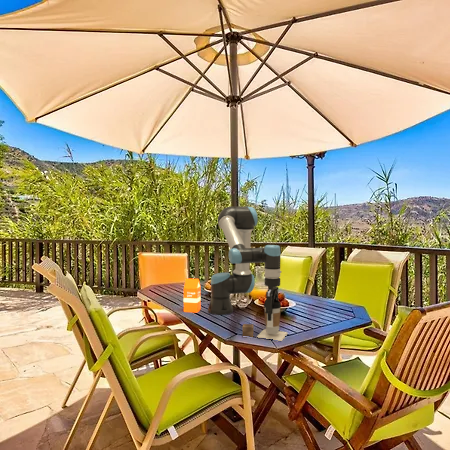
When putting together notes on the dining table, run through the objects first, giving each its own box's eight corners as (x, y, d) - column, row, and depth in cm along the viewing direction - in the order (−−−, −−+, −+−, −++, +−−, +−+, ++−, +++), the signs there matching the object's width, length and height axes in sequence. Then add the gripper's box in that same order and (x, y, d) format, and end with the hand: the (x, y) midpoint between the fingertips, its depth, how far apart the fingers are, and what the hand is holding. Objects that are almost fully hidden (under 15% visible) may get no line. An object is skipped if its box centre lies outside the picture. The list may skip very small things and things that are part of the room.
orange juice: (197, 312, 201) (197, 279, 201) (183, 311, 203) (183, 279, 202) (200, 309, 208) (200, 277, 208) (187, 308, 210) (187, 277, 210)
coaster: (256, 338, 156) (256, 336, 156) (264, 330, 167) (264, 329, 167) (281, 342, 152) (281, 340, 152) (287, 333, 163) (287, 332, 163)
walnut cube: (242, 337, 158) (242, 327, 158) (243, 333, 163) (243, 323, 163) (252, 337, 157) (253, 327, 157) (253, 334, 162) (253, 324, 162)
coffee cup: (279, 329, 164) (279, 298, 164) (282, 334, 155) (282, 303, 155) (262, 329, 164) (262, 299, 164) (265, 335, 155) (265, 303, 155)
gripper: (274, 281, 148) (274, 332, 149) (285, 274, 167) (285, 319, 167) (258, 280, 151) (258, 329, 152) (270, 273, 170) (270, 318, 170)
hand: (272, 324), depth 160 cm, fingers closed on coffee cup, 8 cm apart
